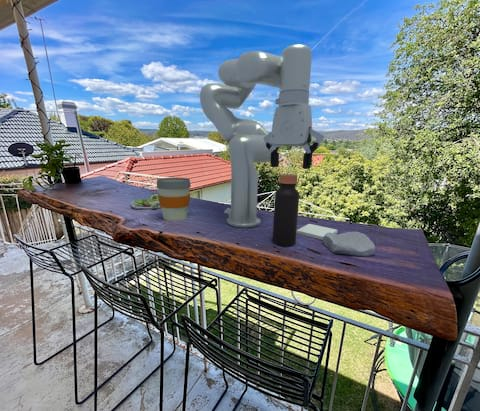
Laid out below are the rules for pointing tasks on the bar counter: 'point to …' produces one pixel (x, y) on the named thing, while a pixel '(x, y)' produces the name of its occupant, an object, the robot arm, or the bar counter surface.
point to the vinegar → (286, 211)
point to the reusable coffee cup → (174, 197)
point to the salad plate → (147, 203)
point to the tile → (315, 231)
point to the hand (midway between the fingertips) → (289, 167)
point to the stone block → (349, 243)
